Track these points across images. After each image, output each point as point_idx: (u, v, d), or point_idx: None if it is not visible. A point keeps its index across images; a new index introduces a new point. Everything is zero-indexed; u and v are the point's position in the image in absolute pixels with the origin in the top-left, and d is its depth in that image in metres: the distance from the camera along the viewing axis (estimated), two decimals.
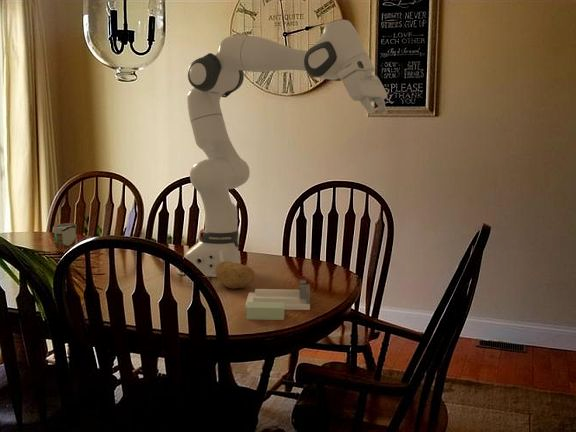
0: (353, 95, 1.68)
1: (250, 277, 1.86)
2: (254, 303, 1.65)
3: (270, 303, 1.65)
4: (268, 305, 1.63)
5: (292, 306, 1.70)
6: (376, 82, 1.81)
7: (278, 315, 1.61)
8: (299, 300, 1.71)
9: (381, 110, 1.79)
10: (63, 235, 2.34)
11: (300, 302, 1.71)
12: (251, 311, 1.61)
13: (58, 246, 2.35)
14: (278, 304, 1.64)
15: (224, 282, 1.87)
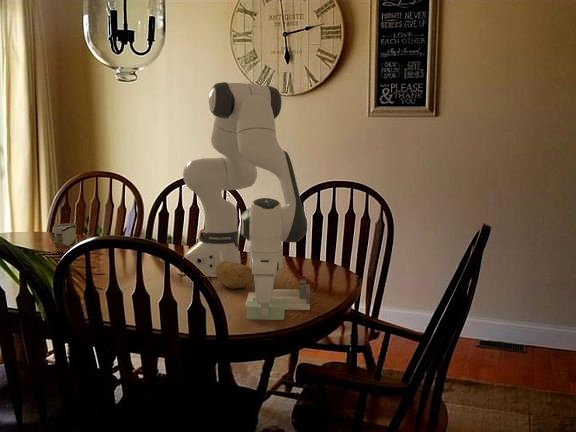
0: (260, 300, 1.53)
1: (250, 277, 1.86)
2: (254, 302, 1.65)
3: None
4: (269, 304, 1.63)
5: (292, 306, 1.70)
6: None
7: (278, 314, 1.61)
8: (299, 300, 1.71)
9: None
10: (63, 235, 2.34)
11: (300, 302, 1.71)
12: (251, 310, 1.61)
13: (58, 246, 2.35)
14: (278, 304, 1.64)
15: (224, 282, 1.87)
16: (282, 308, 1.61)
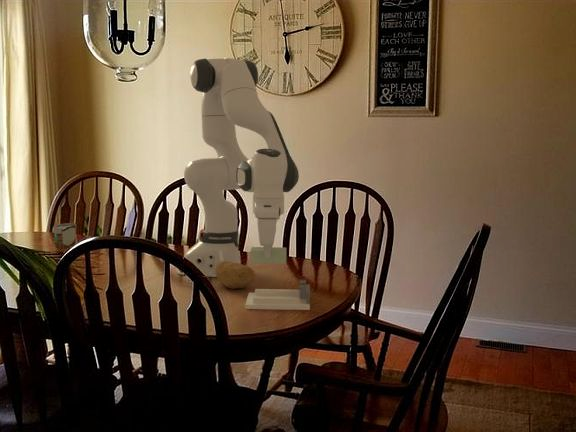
0: (263, 242, 1.63)
1: (250, 277, 1.86)
2: (258, 248, 1.74)
3: (273, 248, 1.75)
4: (271, 249, 1.73)
5: (292, 306, 1.70)
6: None
7: (280, 258, 1.71)
8: (299, 300, 1.71)
9: None
10: (63, 235, 2.34)
11: (300, 302, 1.71)
12: (255, 254, 1.71)
13: (58, 246, 2.35)
14: (280, 249, 1.74)
15: (224, 282, 1.87)
16: (284, 252, 1.71)
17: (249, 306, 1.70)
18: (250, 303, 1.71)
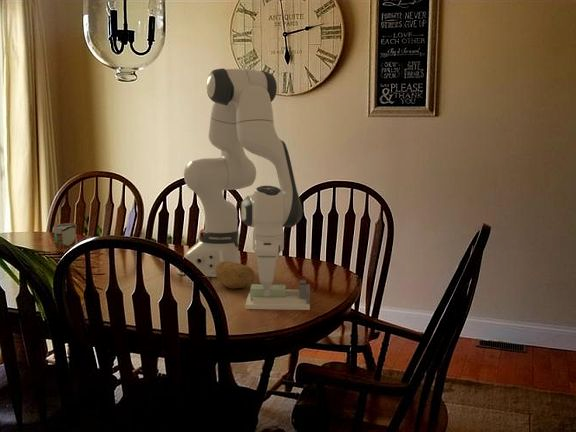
0: (263, 280, 1.65)
1: (250, 277, 1.86)
2: (257, 285, 1.76)
3: (272, 285, 1.77)
4: (271, 287, 1.75)
5: (292, 306, 1.70)
6: None
7: (280, 296, 1.73)
8: (299, 300, 1.71)
9: None
10: (63, 235, 2.34)
11: (300, 302, 1.71)
12: (255, 292, 1.73)
13: (58, 246, 2.35)
14: (280, 286, 1.75)
15: (224, 282, 1.87)
16: (283, 290, 1.73)
17: (249, 306, 1.70)
18: (250, 303, 1.71)
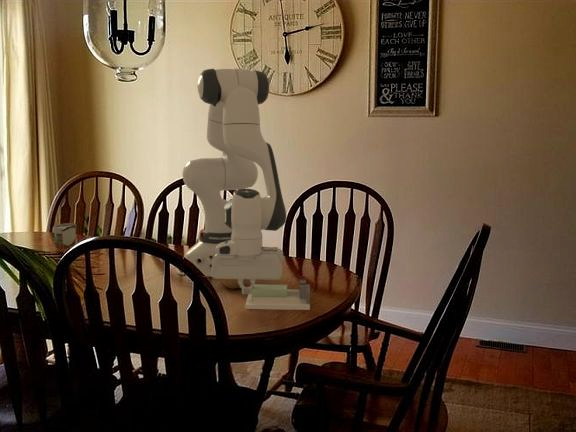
0: None
1: None
2: (259, 285, 1.76)
3: (274, 285, 1.76)
4: (272, 287, 1.75)
5: (292, 306, 1.70)
6: (267, 263, 1.72)
7: (281, 296, 1.73)
8: (299, 300, 1.71)
9: None
10: (63, 235, 2.34)
11: (300, 302, 1.71)
12: (256, 292, 1.73)
13: (58, 246, 2.35)
14: (281, 286, 1.75)
15: (224, 282, 1.87)
16: (285, 290, 1.73)
17: (249, 306, 1.70)
18: (250, 303, 1.71)
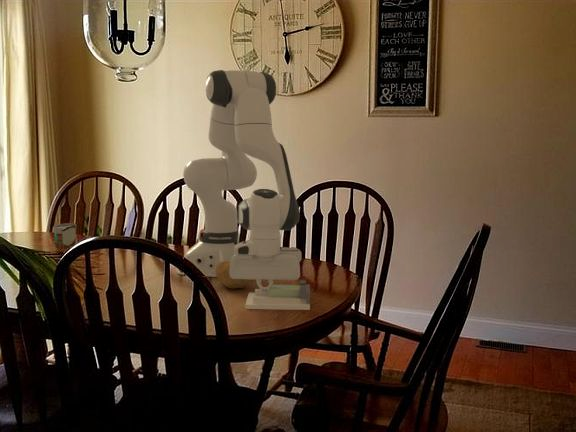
0: None
1: None
2: (276, 285, 1.76)
3: (291, 286, 1.76)
4: (290, 287, 1.75)
5: (292, 306, 1.70)
6: (285, 263, 1.72)
7: (299, 297, 1.73)
8: (299, 300, 1.71)
9: None
10: (63, 235, 2.34)
11: (300, 302, 1.71)
12: (274, 292, 1.73)
13: (58, 246, 2.35)
14: (299, 287, 1.75)
15: (224, 282, 1.87)
16: None
17: (249, 306, 1.70)
18: (250, 303, 1.71)
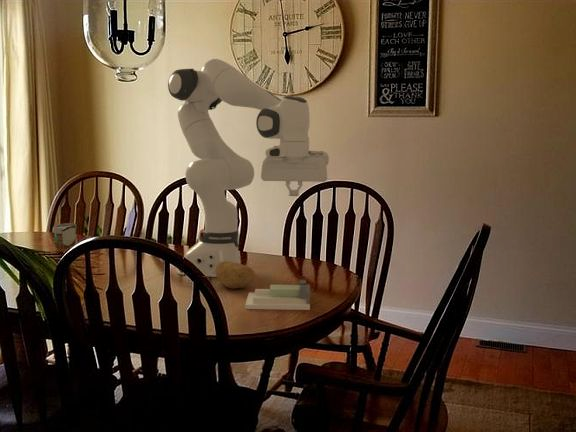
0: None
1: (250, 277, 1.86)
2: (276, 285, 1.76)
3: (291, 286, 1.76)
4: (290, 287, 1.75)
5: (292, 306, 1.70)
6: (313, 165, 1.84)
7: (299, 297, 1.73)
8: (299, 300, 1.71)
9: None
10: (63, 235, 2.34)
11: (300, 302, 1.71)
12: (274, 292, 1.73)
13: (58, 246, 2.35)
14: (299, 287, 1.75)
15: (224, 282, 1.87)
16: None
17: (249, 306, 1.70)
18: (250, 303, 1.71)
